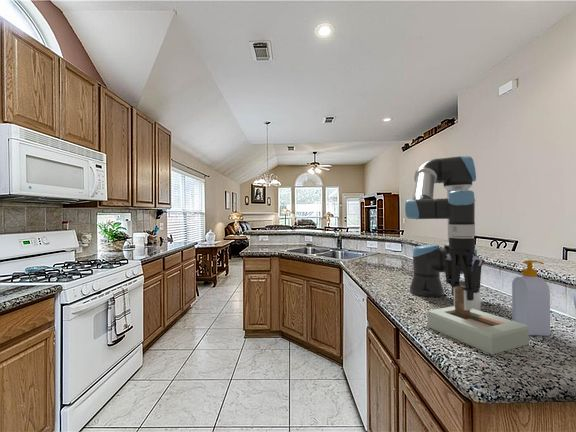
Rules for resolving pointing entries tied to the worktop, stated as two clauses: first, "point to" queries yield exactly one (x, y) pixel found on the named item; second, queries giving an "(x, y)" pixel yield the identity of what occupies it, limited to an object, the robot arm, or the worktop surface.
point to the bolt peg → (460, 303)
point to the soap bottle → (531, 301)
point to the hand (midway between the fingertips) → (462, 307)
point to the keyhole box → (480, 329)
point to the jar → (477, 297)
